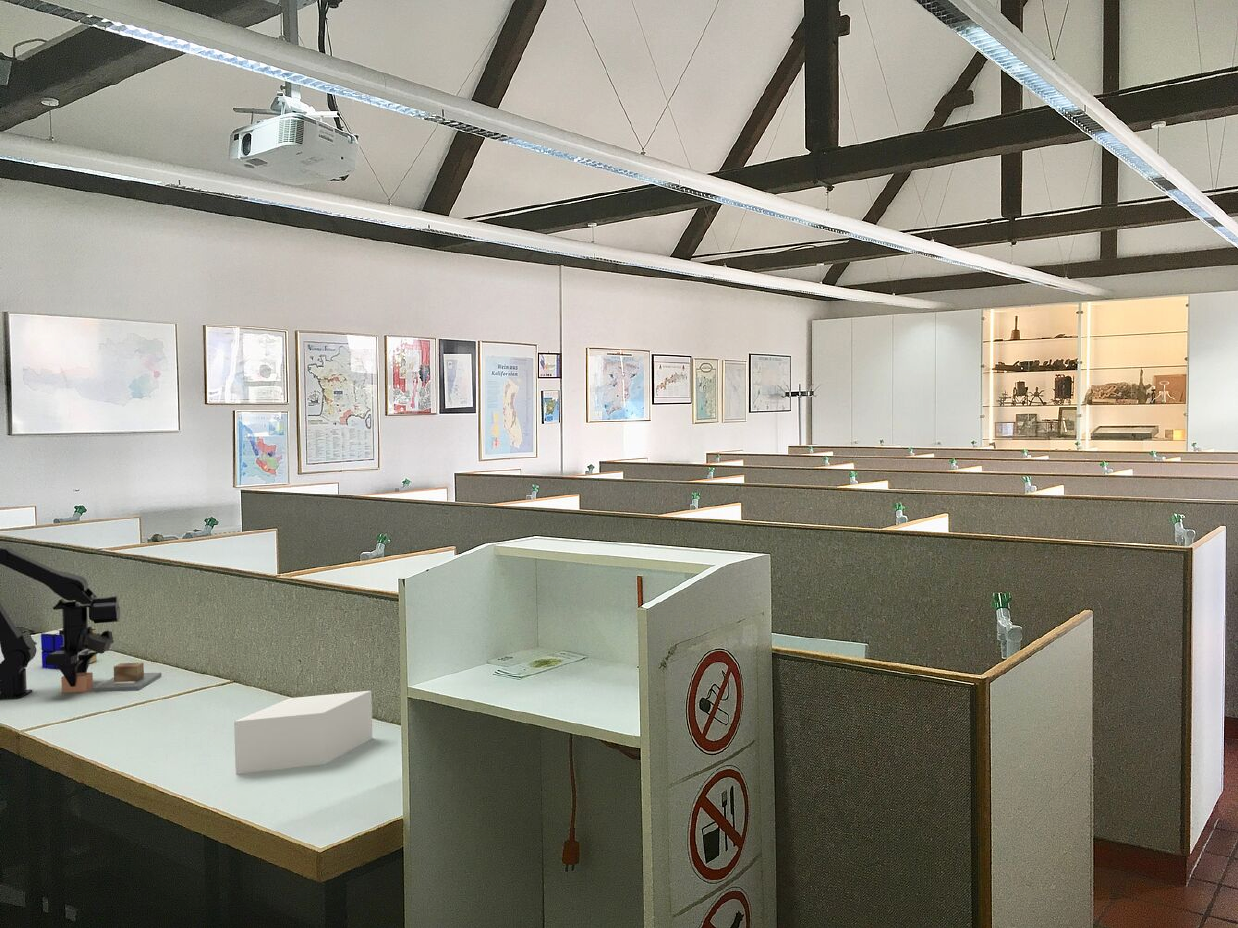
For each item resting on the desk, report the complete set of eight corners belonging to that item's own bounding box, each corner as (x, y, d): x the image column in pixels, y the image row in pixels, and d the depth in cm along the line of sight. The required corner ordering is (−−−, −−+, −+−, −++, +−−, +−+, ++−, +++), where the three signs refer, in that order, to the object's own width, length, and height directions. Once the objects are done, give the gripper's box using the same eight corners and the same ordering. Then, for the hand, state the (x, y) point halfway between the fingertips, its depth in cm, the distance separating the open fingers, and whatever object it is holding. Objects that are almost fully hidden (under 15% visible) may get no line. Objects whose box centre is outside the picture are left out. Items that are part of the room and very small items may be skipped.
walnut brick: (143, 677, 258) (143, 662, 258) (137, 681, 254) (136, 666, 254) (121, 677, 258) (120, 663, 258) (114, 681, 254) (113, 666, 254)
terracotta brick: (92, 687, 253) (92, 672, 252) (86, 691, 249) (85, 676, 249) (69, 688, 252) (68, 673, 252) (61, 692, 248) (61, 677, 248)
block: (390, 746, 204) (389, 697, 203) (251, 784, 183) (250, 729, 182) (355, 730, 214) (354, 684, 214) (220, 765, 194) (219, 713, 193)
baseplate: (138, 690, 249) (138, 685, 249) (95, 691, 249) (95, 687, 249) (161, 676, 263) (161, 672, 263) (120, 677, 263) (120, 673, 263)
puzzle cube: (41, 668, 274) (39, 633, 274) (70, 659, 284) (69, 626, 283) (68, 670, 271) (67, 635, 271) (97, 661, 281) (96, 627, 280)
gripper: (89, 631, 241) (91, 693, 241) (123, 616, 259) (125, 673, 260) (43, 632, 240) (45, 694, 241) (81, 617, 259) (83, 674, 259)
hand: (77, 683), depth 250 cm, fingers closed on terracotta brick, 4 cm apart
